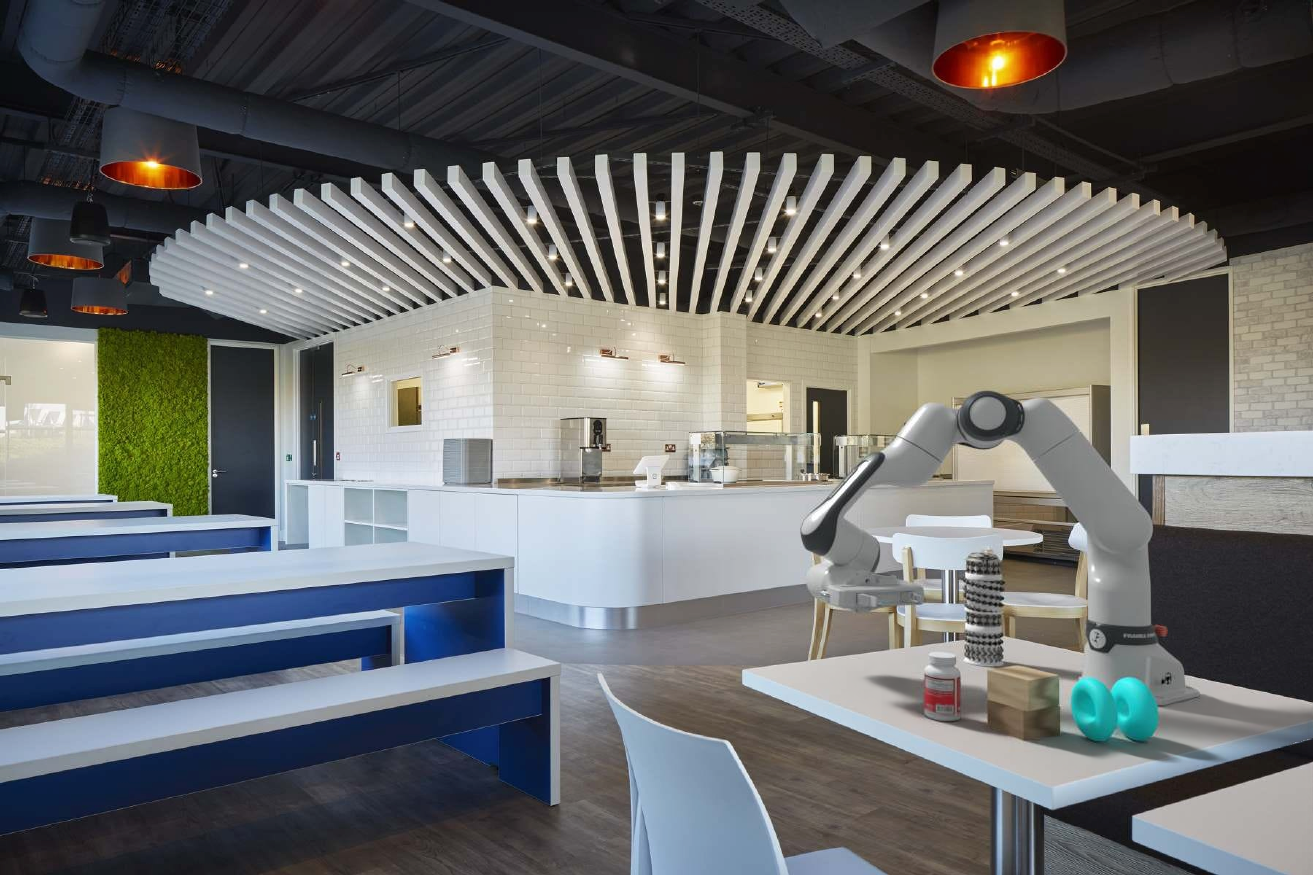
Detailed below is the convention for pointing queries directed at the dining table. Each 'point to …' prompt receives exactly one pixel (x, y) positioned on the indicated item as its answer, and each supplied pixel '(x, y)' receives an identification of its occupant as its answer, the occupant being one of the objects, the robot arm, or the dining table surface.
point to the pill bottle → (942, 687)
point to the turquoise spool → (1114, 709)
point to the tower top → (1023, 687)
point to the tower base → (1024, 721)
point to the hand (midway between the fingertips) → (899, 601)
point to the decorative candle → (983, 610)
